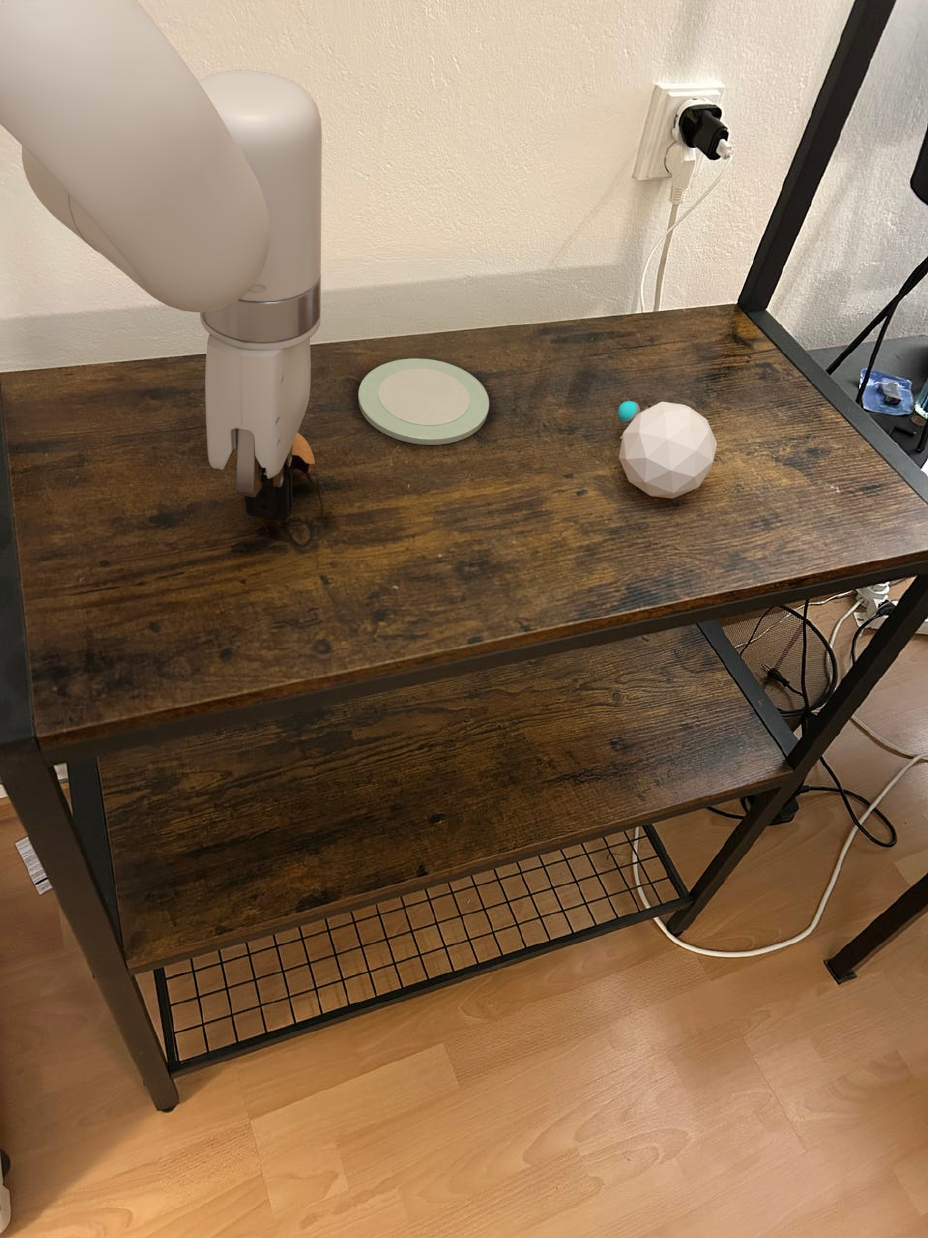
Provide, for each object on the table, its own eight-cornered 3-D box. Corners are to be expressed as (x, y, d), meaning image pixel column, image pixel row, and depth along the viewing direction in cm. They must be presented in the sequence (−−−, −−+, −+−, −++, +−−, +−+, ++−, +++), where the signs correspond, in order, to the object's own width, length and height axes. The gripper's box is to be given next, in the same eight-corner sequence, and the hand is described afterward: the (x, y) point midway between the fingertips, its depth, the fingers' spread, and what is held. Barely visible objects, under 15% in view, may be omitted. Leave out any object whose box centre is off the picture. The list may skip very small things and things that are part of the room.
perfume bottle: (634, 497, 78) (564, 421, 86) (690, 528, 84) (619, 455, 92) (699, 419, 75) (621, 349, 83) (752, 457, 81) (674, 387, 89)
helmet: (320, 525, 81) (292, 434, 81) (339, 508, 75) (308, 409, 75) (253, 542, 79) (224, 448, 79) (266, 526, 73) (235, 424, 73)
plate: (383, 455, 84) (383, 447, 83) (341, 373, 91) (341, 366, 90) (509, 433, 88) (510, 426, 87) (459, 356, 94) (460, 349, 94)
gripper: (237, 229, 66) (250, 443, 79) (159, 351, 56) (189, 571, 69) (345, 249, 66) (340, 459, 79) (287, 375, 56) (292, 590, 69)
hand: (269, 511), depth 74 cm, fingers closed
